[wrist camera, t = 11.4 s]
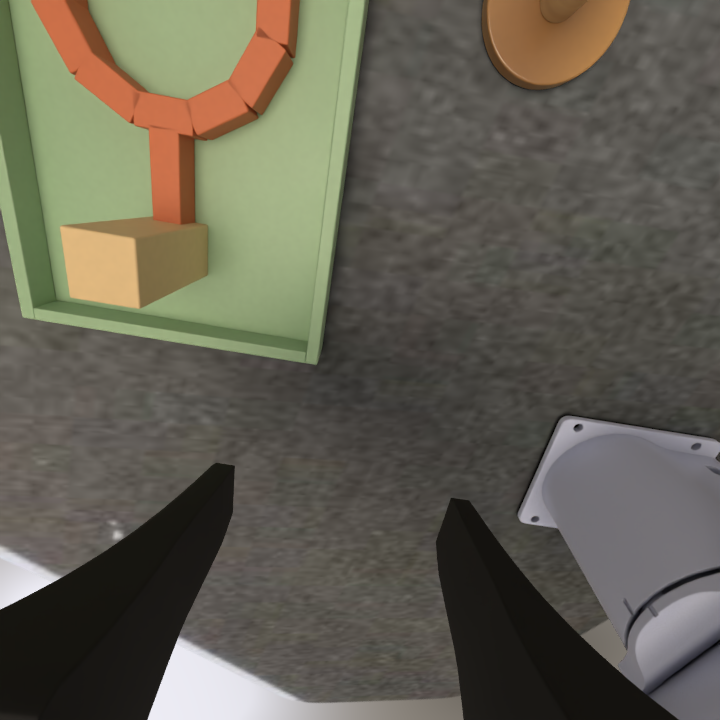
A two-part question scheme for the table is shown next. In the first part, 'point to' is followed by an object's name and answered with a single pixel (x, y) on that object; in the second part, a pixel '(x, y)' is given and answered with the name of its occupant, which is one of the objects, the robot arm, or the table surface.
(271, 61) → the ring
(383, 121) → the table surface
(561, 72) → the peg stand
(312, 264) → the tray
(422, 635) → the table surface
